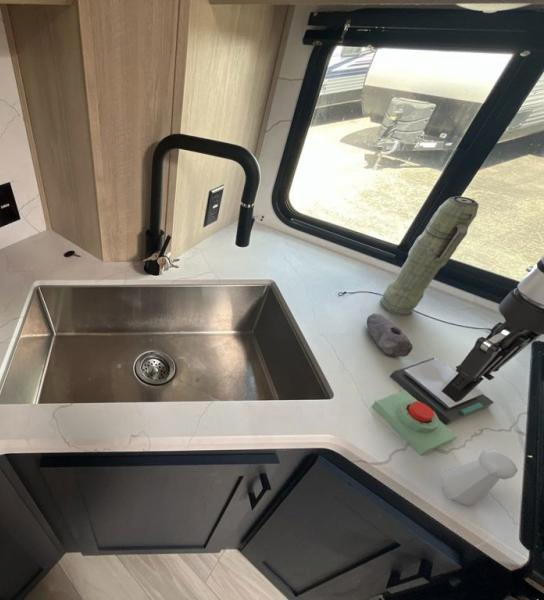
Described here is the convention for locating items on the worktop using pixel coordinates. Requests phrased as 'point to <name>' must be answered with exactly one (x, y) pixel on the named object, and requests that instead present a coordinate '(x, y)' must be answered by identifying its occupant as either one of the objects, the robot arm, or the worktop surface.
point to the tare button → (420, 412)
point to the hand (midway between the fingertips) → (451, 395)
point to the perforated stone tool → (388, 336)
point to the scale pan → (438, 381)
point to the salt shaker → (477, 477)
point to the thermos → (429, 254)
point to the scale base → (440, 410)
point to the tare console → (413, 423)
